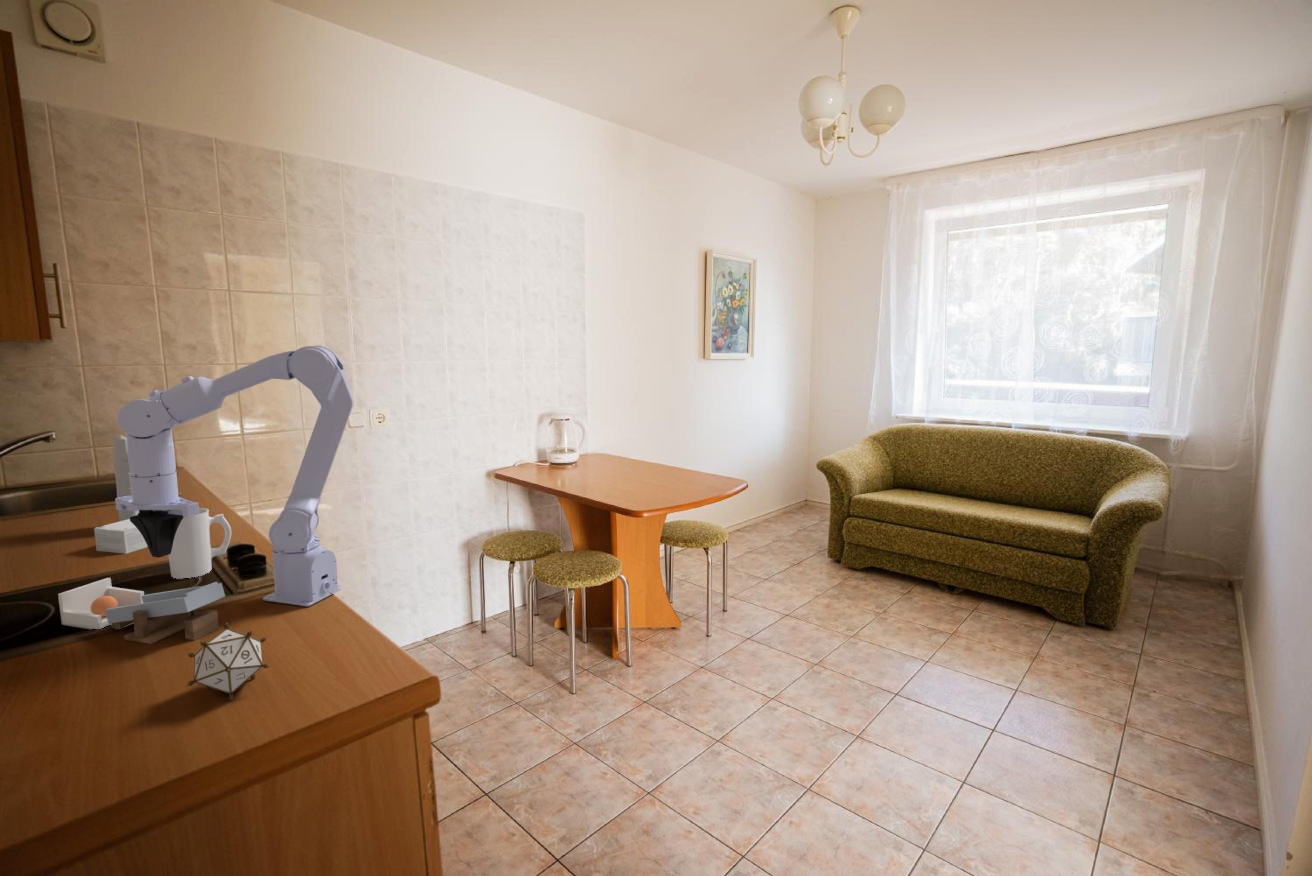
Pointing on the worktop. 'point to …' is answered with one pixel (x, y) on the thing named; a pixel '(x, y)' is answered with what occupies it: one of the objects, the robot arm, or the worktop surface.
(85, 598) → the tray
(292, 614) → the worktop surface
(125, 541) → the small box
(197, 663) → the game die
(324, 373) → the robot arm
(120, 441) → the tall pale column
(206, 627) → the fulcrum
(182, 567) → the mug
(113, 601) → the ball
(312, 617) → the worktop surface
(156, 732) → the worktop surface
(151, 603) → the lever
